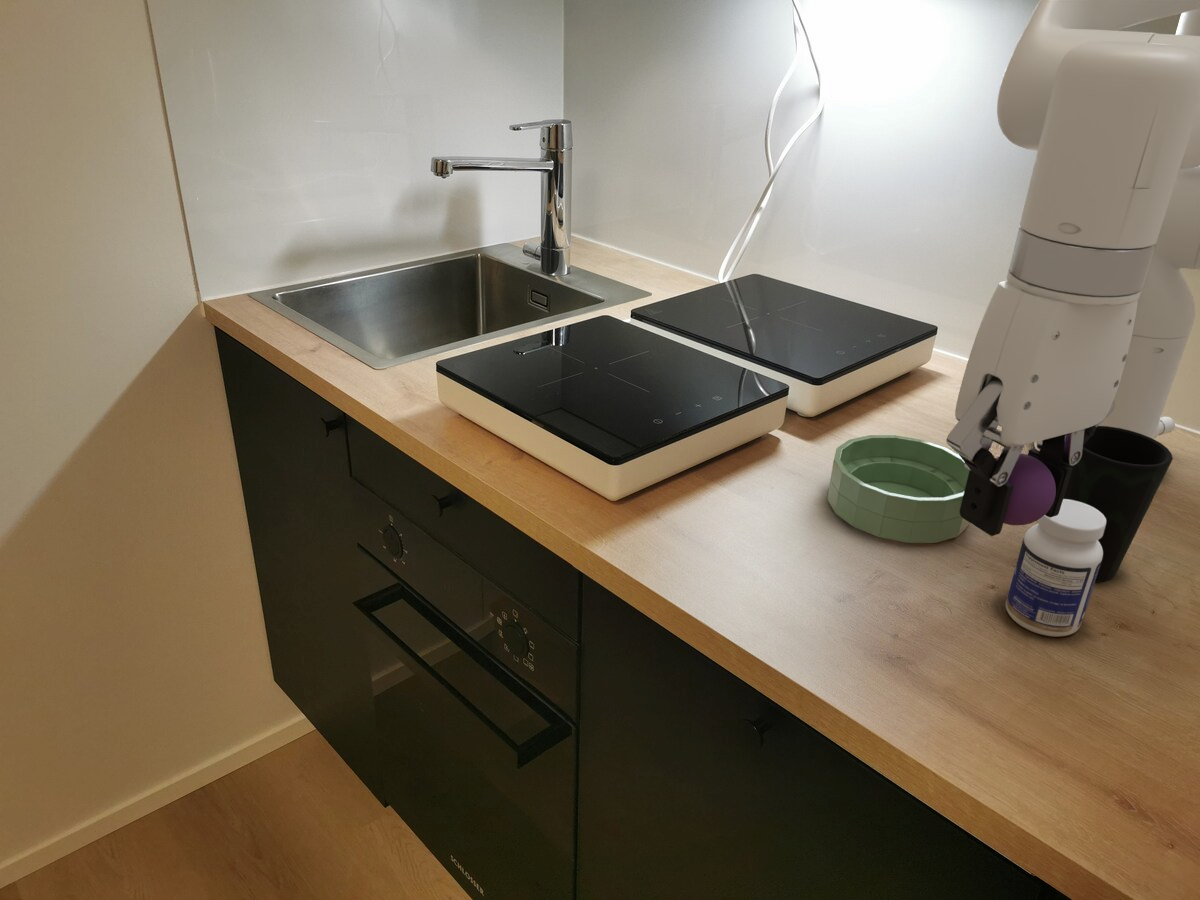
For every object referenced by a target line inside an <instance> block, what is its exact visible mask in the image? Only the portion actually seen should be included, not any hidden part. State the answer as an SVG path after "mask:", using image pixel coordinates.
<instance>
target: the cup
mask: <svg viewBox="0 0 1200 900" xmlns="http://www.w3.org/2000/svg"><path fill="white" fill-rule="evenodd" d="M1173 459H1174V458H1173V454H1172V452H1171V451H1170V450H1169V448H1168V447H1167V446H1165V445H1164V444H1163V443H1162V442H1159V441H1158V440H1156V439H1152V438H1150V437H1148V436H1145V435H1143V434H1140V433H1137V432H1133V431H1130V430H1126V429H1122V428H1116V427H1109V426H1097V427H1096V429H1095V432H1094V433H1093V435H1092V436H1091V437H1090V438H1089V439H1088V441H1087V442H1086V443H1085V444H1084V445H1083V450H1082V457H1081V459H1080V460H1079V462H1078V463H1077V464H1075V465H1073V466H1071V465H1068V466H1069V467H1071V468H1073V469H1072V472H1071V475H1070V478H1069V482H1068V485H1067V488H1066V491H1065V495H1064V498H1063V499H1069V500H1074V501H1078V502H1082V503H1085V504H1087V505H1090V506H1092V507H1094V508H1095V509H1097V510H1098V511H1100V512H1101V513H1102V514H1103V515H1104V516H1105V518H1106V526H1105V529H1104V533H1103V536H1102V537H1101V538H1100V539H1099V540H1098V541H1099V543H1100V544H1101V546H1102V549H1103V557H1102V561H1101V565H1100V568H1099V571H1098V574H1097V577H1096V580H1095V583H1104V582H1108V581H1111V580H1112V579H1114V578H1115V577H1116V575H1117V573H1118V570H1119V569H1120V567H1121V564H1122V563H1123V561H1124V558H1125V556H1126V554H1127V552H1128V551H1129V549H1130V546H1131V544H1132V542H1133V540H1134V539H1135V536H1136V534H1137V532H1138V530H1139V529H1140V526H1141V524H1142V522H1143V520H1144V519H1145V517H1146V514H1147V512H1148V510H1149V508H1150V506H1151V504H1152V502H1153V500H1154V498H1155V496H1156V494H1157V492H1158V490H1159V488H1160V486H1161V484H1162V483H1163V479H1164V478H1165V475H1166V474H1167V471H1168V470H1169V467H1171V464H1172V462H1173Z"/></svg>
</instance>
